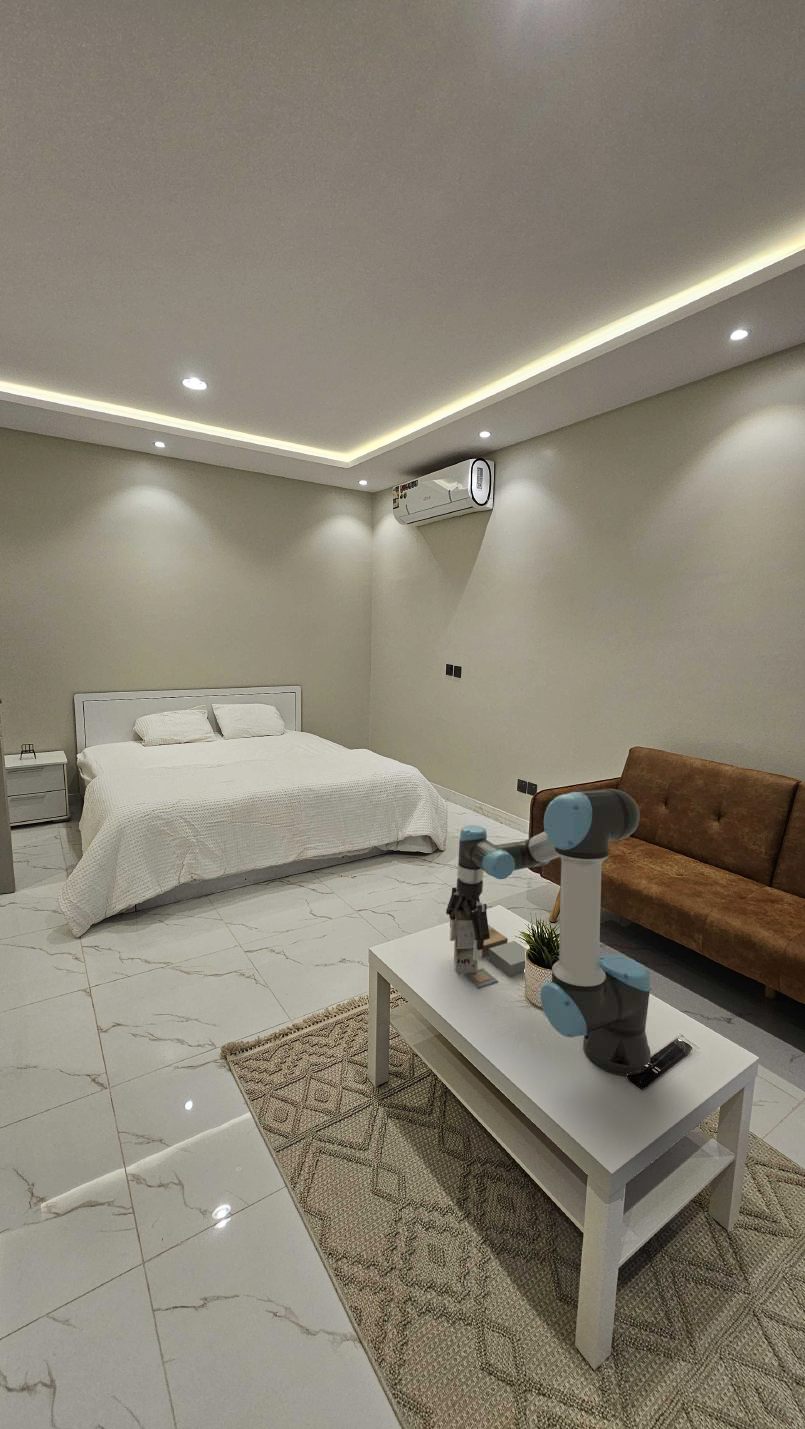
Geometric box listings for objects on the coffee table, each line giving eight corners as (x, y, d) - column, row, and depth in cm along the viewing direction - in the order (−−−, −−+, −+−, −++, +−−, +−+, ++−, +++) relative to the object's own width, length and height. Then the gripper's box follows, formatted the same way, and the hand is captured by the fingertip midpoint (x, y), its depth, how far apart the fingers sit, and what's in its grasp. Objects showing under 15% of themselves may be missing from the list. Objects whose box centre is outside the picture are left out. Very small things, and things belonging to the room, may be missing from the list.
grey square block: (535, 969, 179) (537, 956, 178) (510, 977, 174) (511, 964, 173) (513, 952, 187) (514, 940, 187) (488, 960, 182) (489, 948, 182)
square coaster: (498, 981, 171) (498, 979, 171) (478, 988, 168) (478, 986, 168) (482, 969, 177) (482, 967, 177) (463, 975, 174) (463, 973, 174)
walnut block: (506, 950, 188) (507, 938, 188) (481, 958, 183) (482, 946, 183) (486, 935, 197) (487, 924, 196) (462, 942, 192) (462, 931, 191)
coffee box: (477, 973, 174) (479, 920, 173) (455, 973, 174) (457, 920, 173) (474, 957, 183) (476, 906, 182) (453, 956, 183) (454, 906, 182)
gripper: (506, 892, 167) (500, 965, 171) (457, 861, 187) (452, 928, 190) (484, 897, 163) (479, 972, 167) (437, 865, 183) (433, 933, 186)
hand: (465, 948), depth 179 cm, fingers closed on coffee box, 11 cm apart
